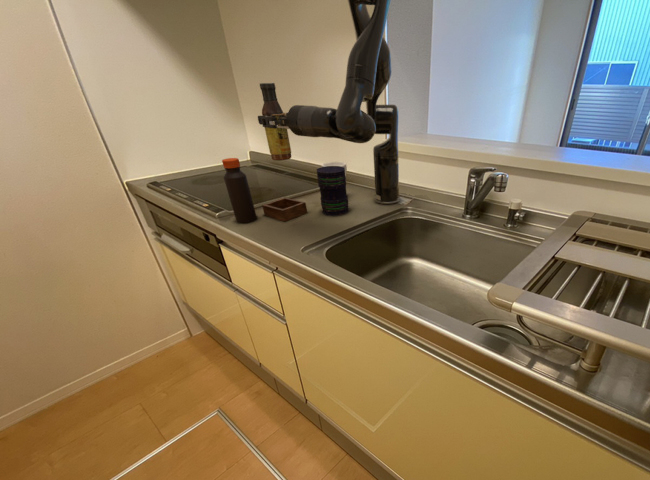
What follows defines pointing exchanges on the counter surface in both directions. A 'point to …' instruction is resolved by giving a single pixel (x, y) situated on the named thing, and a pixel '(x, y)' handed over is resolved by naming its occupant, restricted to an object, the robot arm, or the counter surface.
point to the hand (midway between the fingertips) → (269, 118)
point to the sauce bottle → (278, 136)
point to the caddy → (284, 209)
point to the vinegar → (238, 191)
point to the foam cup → (335, 165)
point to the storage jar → (333, 190)
